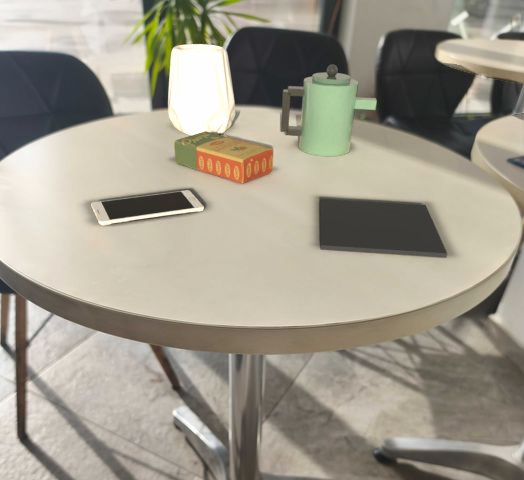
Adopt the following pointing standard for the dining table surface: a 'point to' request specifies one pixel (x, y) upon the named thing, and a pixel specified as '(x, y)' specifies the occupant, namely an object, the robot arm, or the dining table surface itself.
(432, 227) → the mat
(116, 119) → the dining table surface
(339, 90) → the kettle
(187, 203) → the smartphone
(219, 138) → the carton
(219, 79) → the vase
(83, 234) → the dining table surface
